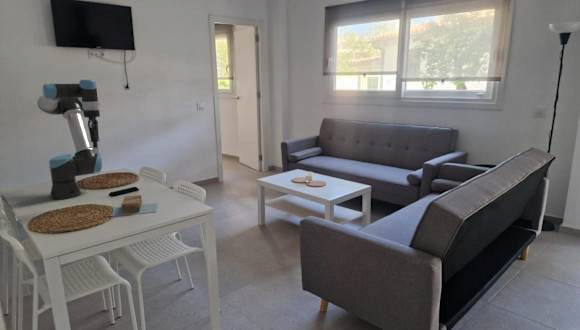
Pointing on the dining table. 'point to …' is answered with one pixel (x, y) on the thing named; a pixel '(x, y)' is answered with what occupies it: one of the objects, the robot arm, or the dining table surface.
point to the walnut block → (131, 204)
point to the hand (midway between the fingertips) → (96, 153)
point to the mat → (144, 209)
